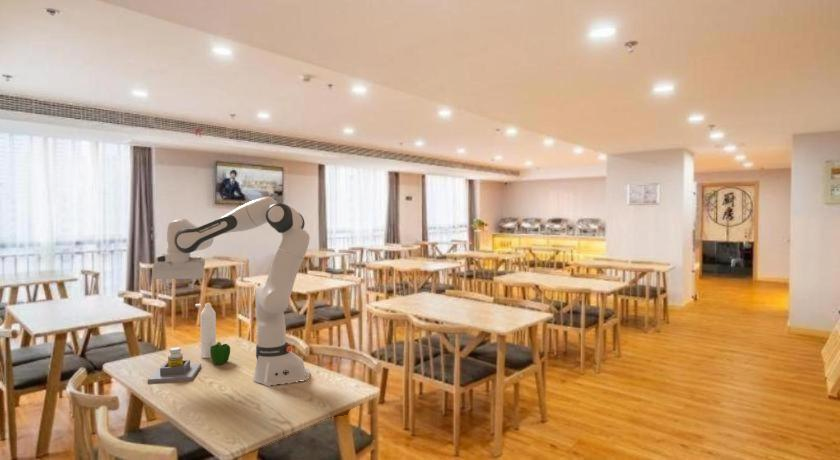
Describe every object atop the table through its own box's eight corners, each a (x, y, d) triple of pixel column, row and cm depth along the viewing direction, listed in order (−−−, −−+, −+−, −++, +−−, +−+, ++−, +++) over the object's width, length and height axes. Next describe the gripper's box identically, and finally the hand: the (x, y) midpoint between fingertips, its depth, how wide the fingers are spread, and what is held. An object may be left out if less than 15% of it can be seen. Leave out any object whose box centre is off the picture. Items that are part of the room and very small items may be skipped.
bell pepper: (219, 358, 214) (219, 337, 213) (234, 361, 211) (234, 339, 211) (205, 364, 206) (205, 342, 206) (220, 367, 203) (220, 344, 203)
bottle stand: (200, 366, 203) (200, 356, 203) (191, 380, 188) (191, 369, 187) (160, 368, 200) (160, 358, 199) (147, 383, 184) (147, 371, 184)
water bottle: (213, 353, 222) (213, 301, 221) (217, 356, 217) (217, 303, 215) (193, 356, 216) (193, 303, 215) (197, 360, 211) (197, 305, 210)
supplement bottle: (181, 368, 197) (181, 345, 197) (183, 372, 193) (183, 349, 192) (167, 370, 194) (167, 347, 194) (168, 374, 190) (168, 351, 189)
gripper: (206, 256, 206) (206, 287, 207) (155, 256, 201) (155, 288, 202) (203, 257, 200) (203, 289, 201) (150, 258, 195) (150, 290, 196)
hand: (179, 288), depth 201 cm, fingers open, 8 cm apart
